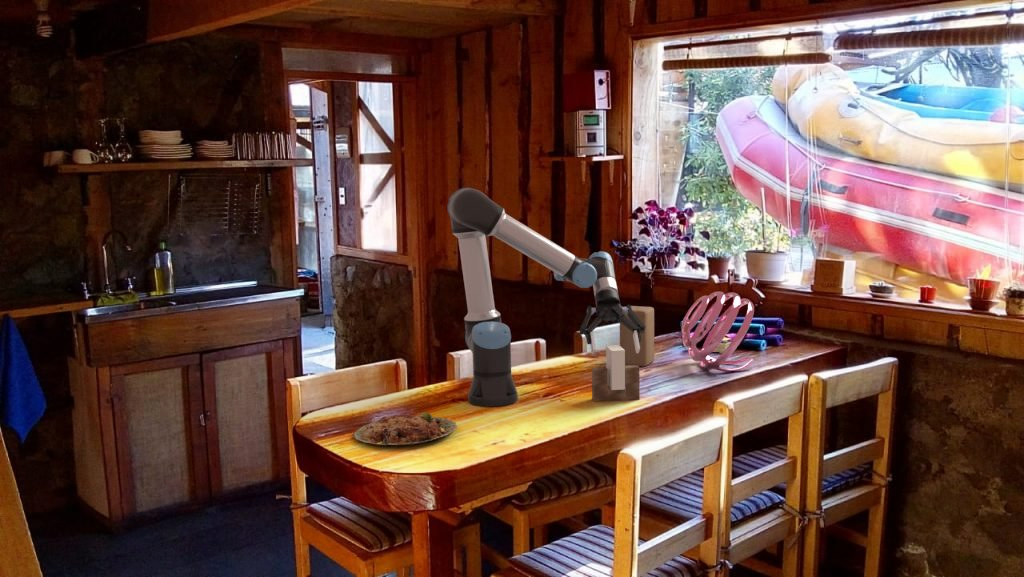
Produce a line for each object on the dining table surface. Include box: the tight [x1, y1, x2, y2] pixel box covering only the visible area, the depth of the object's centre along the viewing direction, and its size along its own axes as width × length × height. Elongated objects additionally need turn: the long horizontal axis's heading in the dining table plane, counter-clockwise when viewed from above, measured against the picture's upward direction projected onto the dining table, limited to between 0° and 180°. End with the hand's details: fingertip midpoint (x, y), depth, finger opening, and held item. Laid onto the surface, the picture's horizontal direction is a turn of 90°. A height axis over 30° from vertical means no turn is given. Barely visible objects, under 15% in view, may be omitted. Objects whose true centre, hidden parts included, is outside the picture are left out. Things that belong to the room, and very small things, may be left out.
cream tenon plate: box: [605, 344, 626, 390], centre depth 266 cm, size 4×8×12 cm, turn 6°
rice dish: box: [352, 411, 458, 446], centre depth 238 cm, size 28×28×5 cm
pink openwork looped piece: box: [681, 291, 755, 373], centre depth 302 cm, size 28×28×27 cm
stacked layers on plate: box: [712, 336, 732, 354], centre depth 329 cm, size 10×9×6 cm
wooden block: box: [619, 305, 655, 367], centre depth 313 cm, size 10×10×20 cm
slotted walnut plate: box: [591, 365, 641, 403], centre depth 267 cm, size 14×3×10 cm, turn 96°
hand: (616, 351), depth 265 cm, fingers open, 13 cm apart
